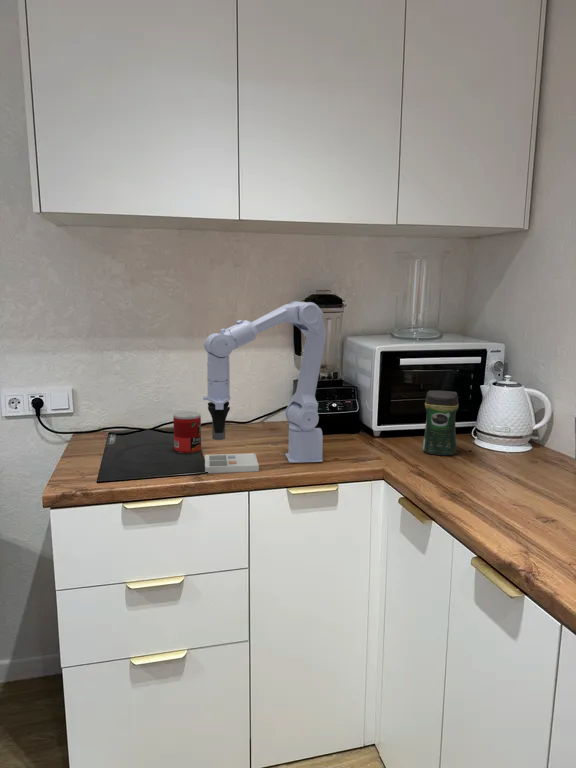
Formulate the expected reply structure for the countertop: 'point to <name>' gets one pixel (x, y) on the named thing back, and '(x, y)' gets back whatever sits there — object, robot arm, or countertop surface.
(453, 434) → the coffee jar
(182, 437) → the canned food
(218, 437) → the plug
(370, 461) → the countertop surface
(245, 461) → the socket board
